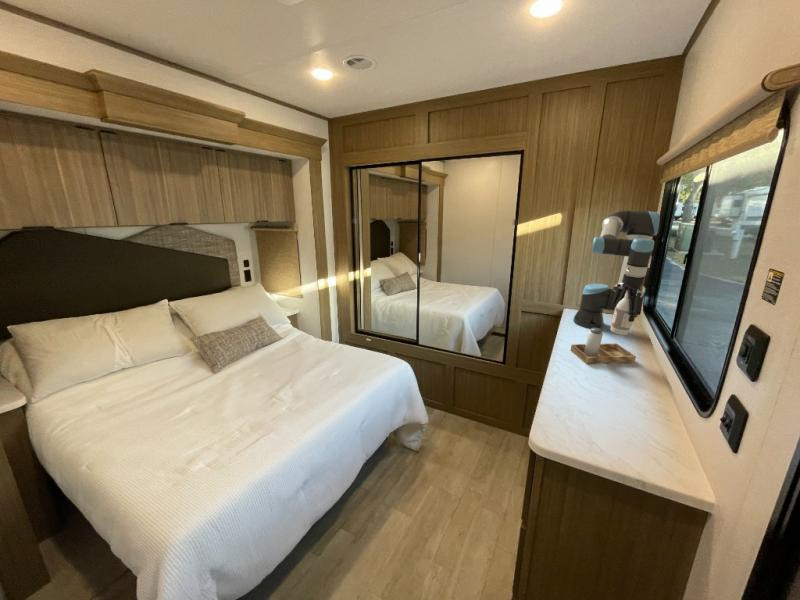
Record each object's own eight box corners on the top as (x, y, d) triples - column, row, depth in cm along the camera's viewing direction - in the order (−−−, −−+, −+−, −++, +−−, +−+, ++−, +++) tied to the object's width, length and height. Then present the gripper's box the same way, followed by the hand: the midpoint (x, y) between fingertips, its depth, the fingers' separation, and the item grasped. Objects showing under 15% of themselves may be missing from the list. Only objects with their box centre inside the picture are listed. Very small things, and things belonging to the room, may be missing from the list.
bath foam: (609, 327, 153) (619, 287, 146) (626, 330, 150) (638, 289, 143) (610, 333, 147) (622, 291, 140) (629, 336, 144) (641, 294, 137)
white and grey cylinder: (587, 351, 156) (593, 326, 151) (599, 356, 151) (606, 330, 147) (581, 354, 153) (587, 328, 148) (593, 359, 148) (599, 333, 144)
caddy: (614, 349, 160) (616, 343, 158) (634, 362, 148) (635, 356, 147) (570, 350, 158) (571, 344, 157) (586, 364, 146) (587, 357, 145)
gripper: (610, 269, 148) (599, 315, 156) (644, 281, 130) (629, 333, 138) (625, 269, 149) (613, 315, 157) (661, 281, 130) (646, 333, 138)
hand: (621, 323), depth 147 cm, fingers closed on bath foam, 7 cm apart
